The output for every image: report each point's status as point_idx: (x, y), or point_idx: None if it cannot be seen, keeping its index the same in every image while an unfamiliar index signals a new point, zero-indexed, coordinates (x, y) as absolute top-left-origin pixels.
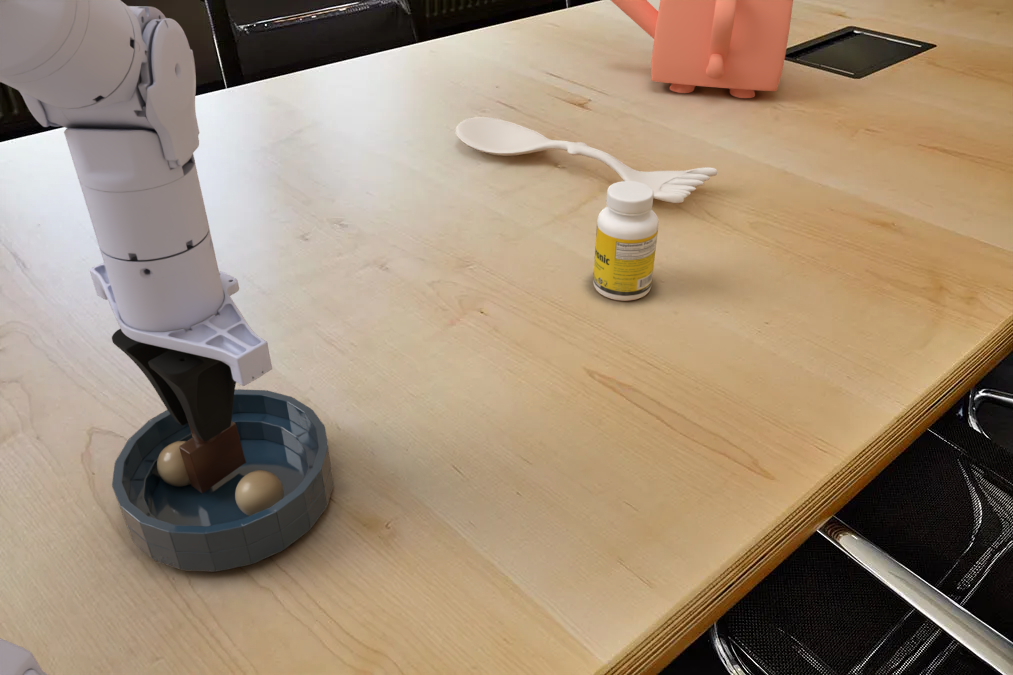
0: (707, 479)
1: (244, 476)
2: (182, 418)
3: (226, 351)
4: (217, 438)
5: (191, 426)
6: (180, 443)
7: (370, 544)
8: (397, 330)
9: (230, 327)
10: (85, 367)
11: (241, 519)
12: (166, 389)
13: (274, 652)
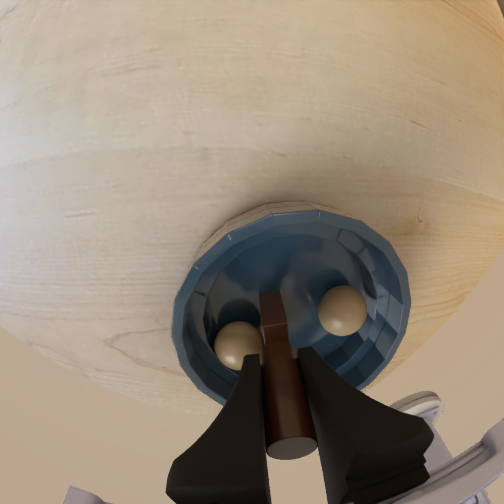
0: (495, 52)
1: (332, 326)
2: None
3: (484, 488)
4: (296, 351)
5: None
6: (235, 355)
7: (420, 244)
8: (175, 2)
9: (471, 496)
10: (28, 302)
11: (386, 358)
12: (264, 437)
13: (417, 341)
